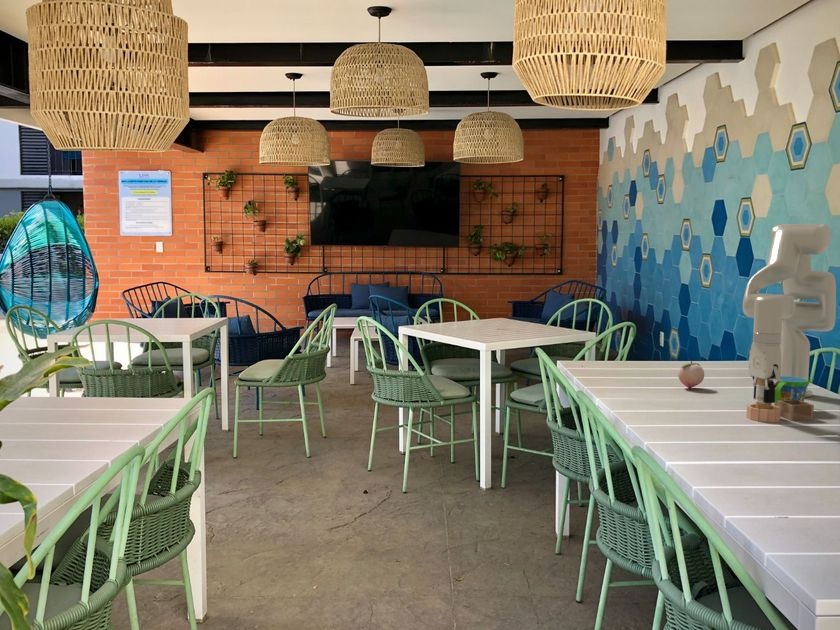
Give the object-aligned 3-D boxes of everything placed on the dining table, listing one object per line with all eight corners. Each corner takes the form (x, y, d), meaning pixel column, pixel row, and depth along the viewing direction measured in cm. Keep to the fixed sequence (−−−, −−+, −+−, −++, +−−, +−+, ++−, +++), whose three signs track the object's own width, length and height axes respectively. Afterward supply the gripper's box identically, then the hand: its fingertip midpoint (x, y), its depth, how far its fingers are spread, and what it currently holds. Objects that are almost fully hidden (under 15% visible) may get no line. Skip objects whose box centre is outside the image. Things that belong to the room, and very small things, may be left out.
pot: (740, 417, 243) (741, 404, 242) (768, 416, 244) (769, 403, 243) (756, 424, 234) (757, 410, 233) (786, 423, 235) (786, 409, 235)
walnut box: (776, 417, 243) (777, 400, 243) (798, 416, 244) (799, 400, 244) (790, 422, 236) (791, 405, 236) (812, 421, 237) (813, 404, 237)
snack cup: (787, 405, 260) (788, 373, 259) (818, 411, 251) (820, 378, 250) (757, 410, 252) (758, 378, 251) (789, 417, 243) (790, 383, 242)
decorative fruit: (694, 392, 281) (695, 363, 280) (673, 388, 287) (674, 360, 286) (708, 388, 287) (710, 360, 286) (687, 385, 293) (688, 357, 292)
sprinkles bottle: (775, 414, 237) (777, 368, 236) (761, 415, 236) (763, 369, 235) (765, 411, 241) (767, 366, 240) (751, 412, 240) (753, 366, 239)
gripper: (739, 335, 244) (736, 395, 246) (771, 343, 228) (768, 407, 229) (762, 335, 245) (760, 395, 247) (796, 342, 229) (792, 406, 230)
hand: (763, 400), depth 238 cm, fingers closed on sprinkles bottle, 4 cm apart
